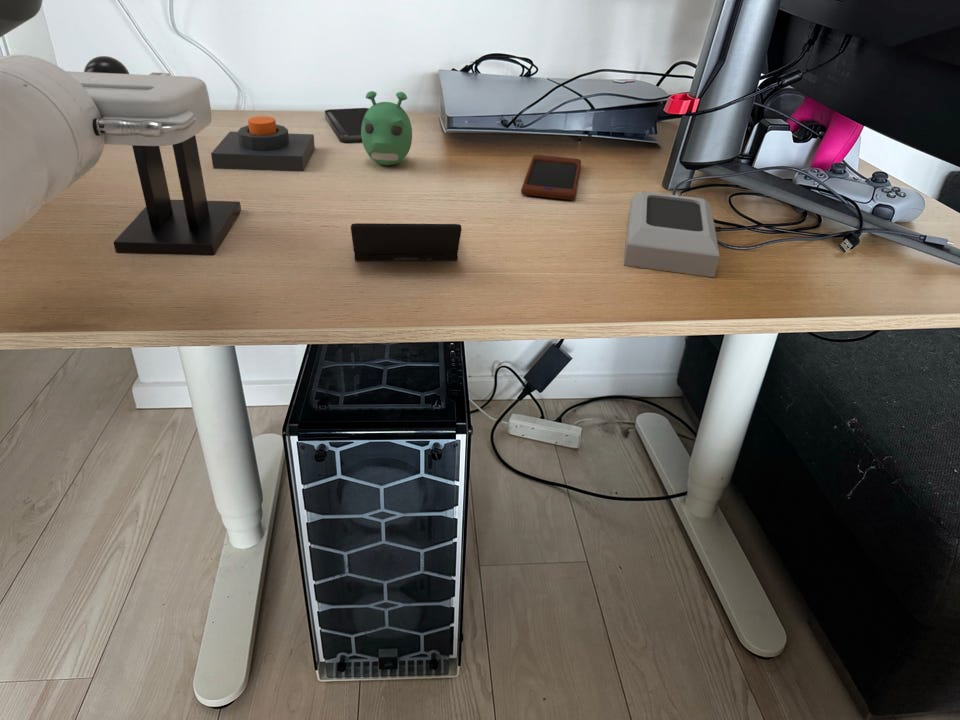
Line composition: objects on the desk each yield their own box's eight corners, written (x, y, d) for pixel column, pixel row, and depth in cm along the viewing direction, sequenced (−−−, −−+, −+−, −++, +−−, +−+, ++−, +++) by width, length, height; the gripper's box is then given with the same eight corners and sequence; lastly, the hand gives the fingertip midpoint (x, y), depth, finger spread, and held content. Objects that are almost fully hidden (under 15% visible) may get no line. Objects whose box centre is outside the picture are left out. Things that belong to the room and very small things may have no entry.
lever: (120, 95, 59) (119, 51, 58) (76, 94, 59) (74, 49, 58) (182, 132, 73) (181, 96, 73) (146, 131, 73) (145, 95, 72)
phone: (341, 136, 106) (323, 109, 117) (341, 143, 106) (324, 116, 118) (392, 133, 108) (370, 107, 120) (392, 140, 109) (370, 114, 120)
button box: (213, 169, 95) (208, 139, 93) (231, 146, 103) (227, 118, 101) (303, 172, 96) (300, 142, 93) (314, 149, 104) (312, 121, 102)
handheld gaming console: (448, 216, 81) (452, 167, 71) (463, 272, 79) (470, 230, 69) (348, 235, 79) (339, 188, 70) (362, 293, 77) (354, 253, 68)
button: (246, 136, 96) (245, 123, 95) (252, 128, 99) (251, 115, 98) (273, 137, 96) (272, 124, 95) (279, 129, 99) (277, 116, 98)
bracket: (214, 255, 74) (187, 110, 66) (115, 252, 73) (76, 105, 65) (241, 210, 84) (221, 80, 75) (155, 208, 83) (125, 76, 75)
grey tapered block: (629, 233, 74) (633, 185, 87) (623, 265, 76) (628, 214, 89) (722, 245, 73) (713, 195, 85) (714, 277, 75) (706, 223, 87)
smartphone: (520, 188, 91) (533, 153, 104) (520, 195, 92) (532, 159, 104) (575, 194, 90) (581, 158, 103) (574, 201, 91) (580, 164, 103)
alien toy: (356, 172, 97) (352, 96, 91) (368, 154, 103) (365, 83, 97) (407, 176, 96) (406, 100, 91) (416, 158, 103) (415, 86, 97)
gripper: (173, 85, 48) (225, 46, 59) (-144, 72, 47) (-28, 34, 58) (189, 176, 51) (236, 122, 63) (-104, 165, 50) (-2, 112, 62)
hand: (107, 80), depth 61 cm, fingers open, 8 cm apart
